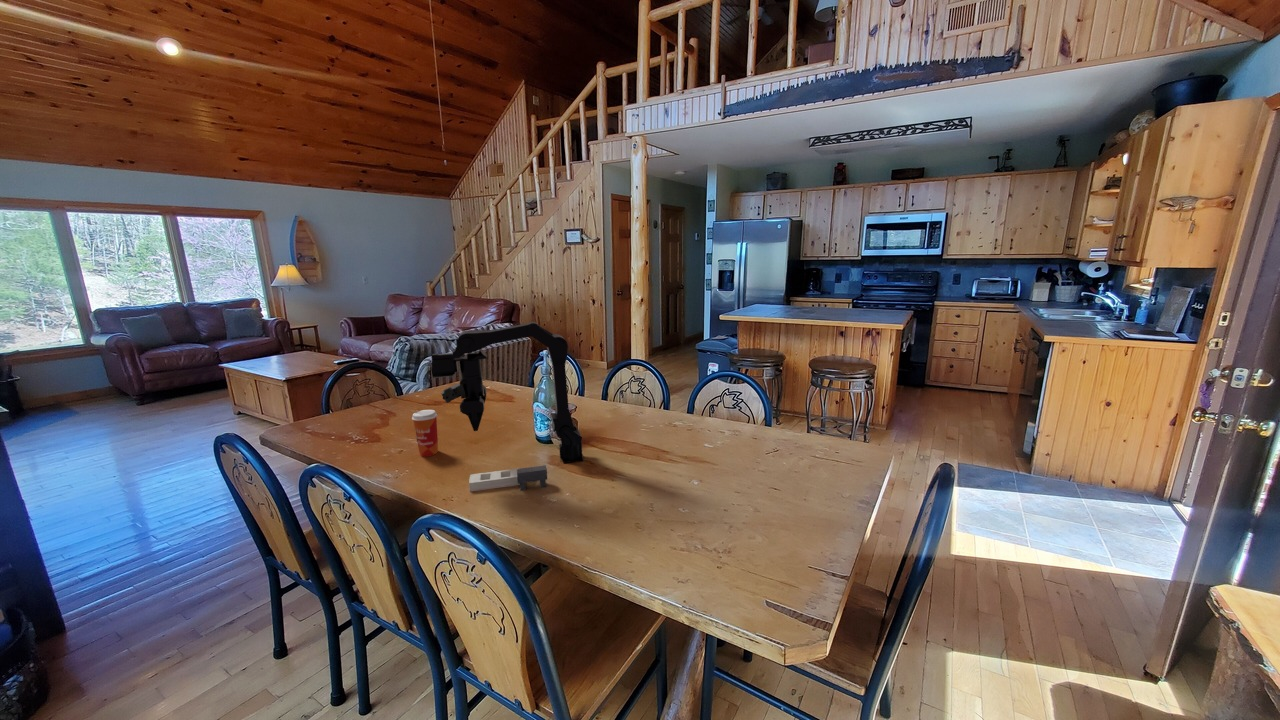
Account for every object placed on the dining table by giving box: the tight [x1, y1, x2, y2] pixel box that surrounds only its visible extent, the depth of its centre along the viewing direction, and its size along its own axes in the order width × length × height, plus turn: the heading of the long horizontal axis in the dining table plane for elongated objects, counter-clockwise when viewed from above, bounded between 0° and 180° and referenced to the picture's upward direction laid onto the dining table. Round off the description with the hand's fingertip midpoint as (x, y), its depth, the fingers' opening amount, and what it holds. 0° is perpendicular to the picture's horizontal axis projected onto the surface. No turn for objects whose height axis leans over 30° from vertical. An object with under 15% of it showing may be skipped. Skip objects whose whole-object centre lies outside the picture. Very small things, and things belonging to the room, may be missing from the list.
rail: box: [468, 468, 521, 492], centre depth 138 cm, size 14×6×2 cm, turn 105°
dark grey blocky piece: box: [516, 465, 548, 492], centre depth 136 cm, size 8×3×5 cm, turn 105°
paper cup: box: [411, 409, 439, 457], centre depth 160 cm, size 8×8×14 cm
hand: (476, 425), depth 144 cm, fingers open, 9 cm apart
